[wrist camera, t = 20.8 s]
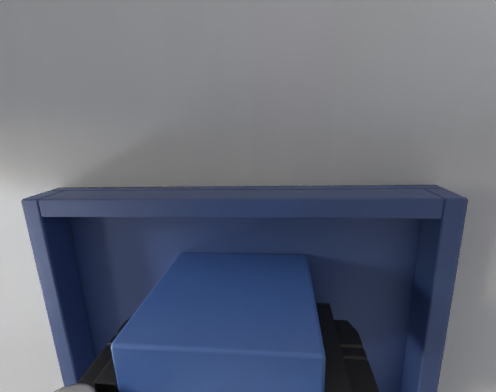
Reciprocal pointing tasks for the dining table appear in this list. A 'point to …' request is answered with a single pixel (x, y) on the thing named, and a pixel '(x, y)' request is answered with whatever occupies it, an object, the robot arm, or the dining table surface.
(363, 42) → the dining table surface
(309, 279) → the blue block
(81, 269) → the blue tray
